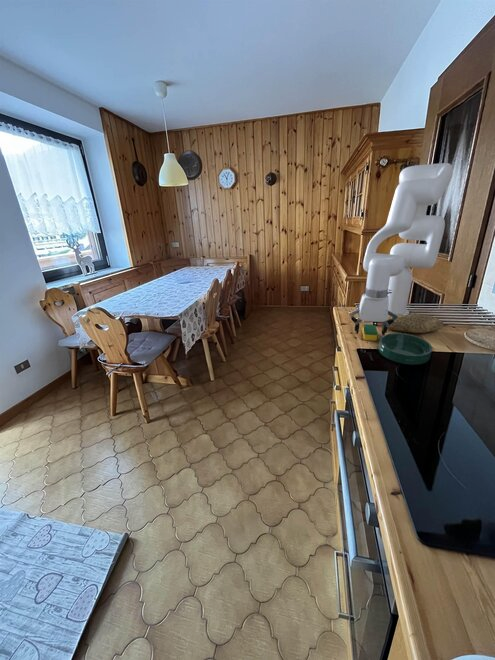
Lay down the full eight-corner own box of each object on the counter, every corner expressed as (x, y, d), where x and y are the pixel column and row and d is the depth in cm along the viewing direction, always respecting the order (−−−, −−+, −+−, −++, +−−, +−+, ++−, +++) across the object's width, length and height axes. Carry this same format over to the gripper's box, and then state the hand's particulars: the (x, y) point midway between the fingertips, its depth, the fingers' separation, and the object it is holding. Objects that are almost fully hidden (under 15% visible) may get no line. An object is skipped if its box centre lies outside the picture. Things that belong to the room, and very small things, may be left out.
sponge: (383, 335, 116) (442, 336, 104) (383, 316, 114) (442, 315, 102) (389, 328, 126) (444, 329, 114) (389, 311, 125) (444, 309, 113)
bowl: (375, 340, 109) (377, 331, 108) (422, 344, 105) (424, 334, 103) (381, 363, 95) (383, 353, 94) (435, 368, 91) (438, 358, 89)
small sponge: (362, 332, 117) (363, 324, 115) (374, 332, 115) (375, 325, 114) (363, 339, 111) (365, 331, 109) (376, 340, 109) (377, 332, 108)
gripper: (399, 290, 106) (391, 330, 114) (351, 288, 111) (346, 327, 118) (403, 296, 100) (395, 339, 107) (352, 294, 104) (347, 335, 112)
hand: (369, 333), depth 113 cm, fingers open, 9 cm apart
